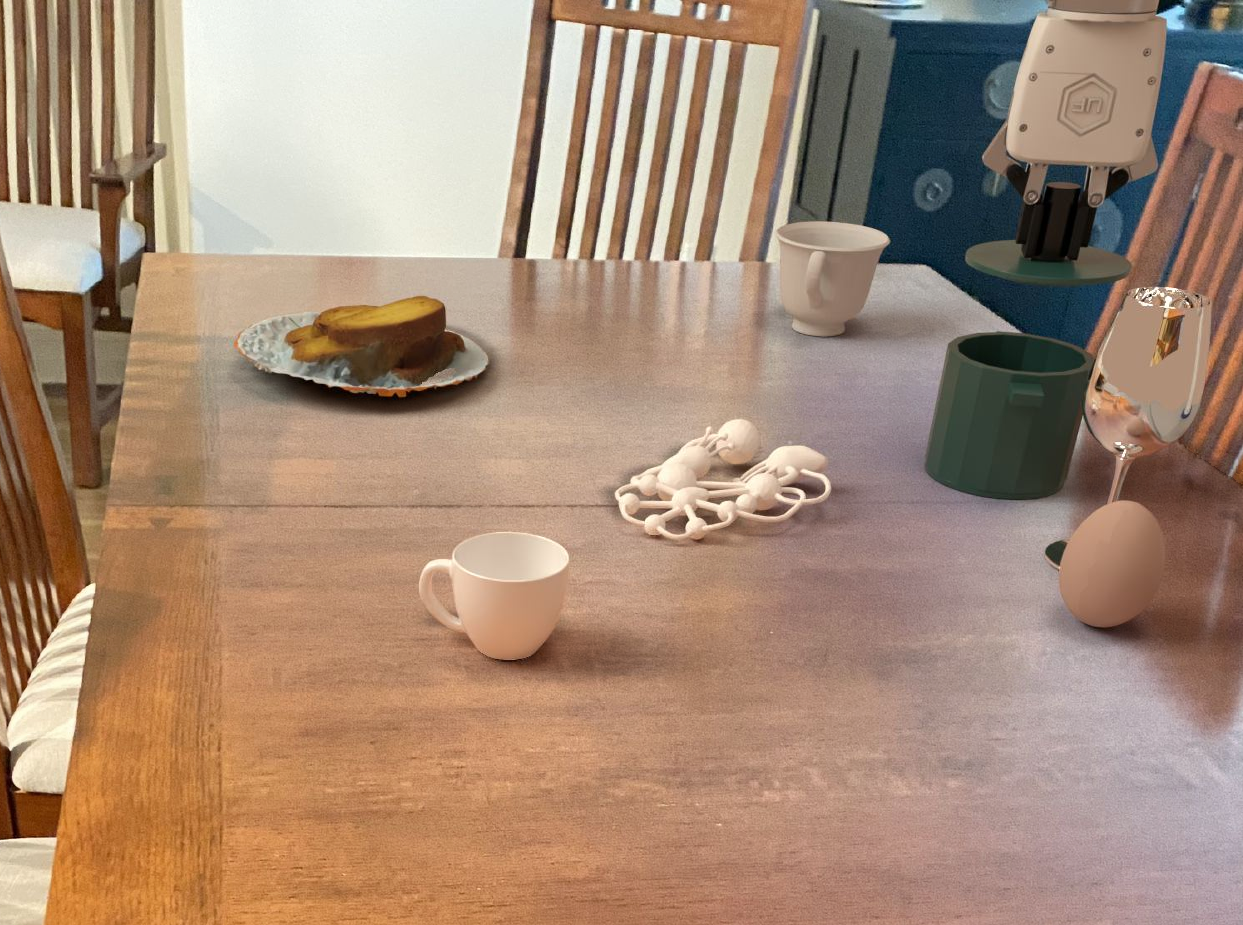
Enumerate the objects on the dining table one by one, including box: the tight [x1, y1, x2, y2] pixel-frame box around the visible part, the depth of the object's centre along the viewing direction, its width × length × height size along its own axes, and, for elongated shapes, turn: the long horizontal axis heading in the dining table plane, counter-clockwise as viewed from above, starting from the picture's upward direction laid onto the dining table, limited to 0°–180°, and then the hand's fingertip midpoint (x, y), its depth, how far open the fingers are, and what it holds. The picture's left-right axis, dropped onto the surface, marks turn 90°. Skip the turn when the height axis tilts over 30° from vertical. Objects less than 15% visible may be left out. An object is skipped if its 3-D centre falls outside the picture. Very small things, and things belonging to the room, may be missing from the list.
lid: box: [964, 181, 1133, 288], centre depth 119 cm, size 13×13×7 cm
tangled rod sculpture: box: [614, 418, 832, 541], centre depth 122 cm, size 19×14×4 cm
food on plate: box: [233, 295, 490, 398], centre depth 149 cm, size 26×25×7 cm
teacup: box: [774, 220, 891, 338], centre depth 161 cm, size 12×15×10 cm
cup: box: [418, 531, 571, 659], centre depth 101 cm, size 8×10×7 cm
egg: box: [1058, 500, 1167, 629], centre depth 104 cm, size 7×7×9 cm
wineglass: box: [1043, 286, 1213, 570], centre depth 110 cm, size 8×8×20 cm
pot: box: [924, 330, 1095, 500], centre depth 127 cm, size 12×17×10 cm
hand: (1049, 253), depth 120 cm, fingers closed on lid, 2 cm apart
